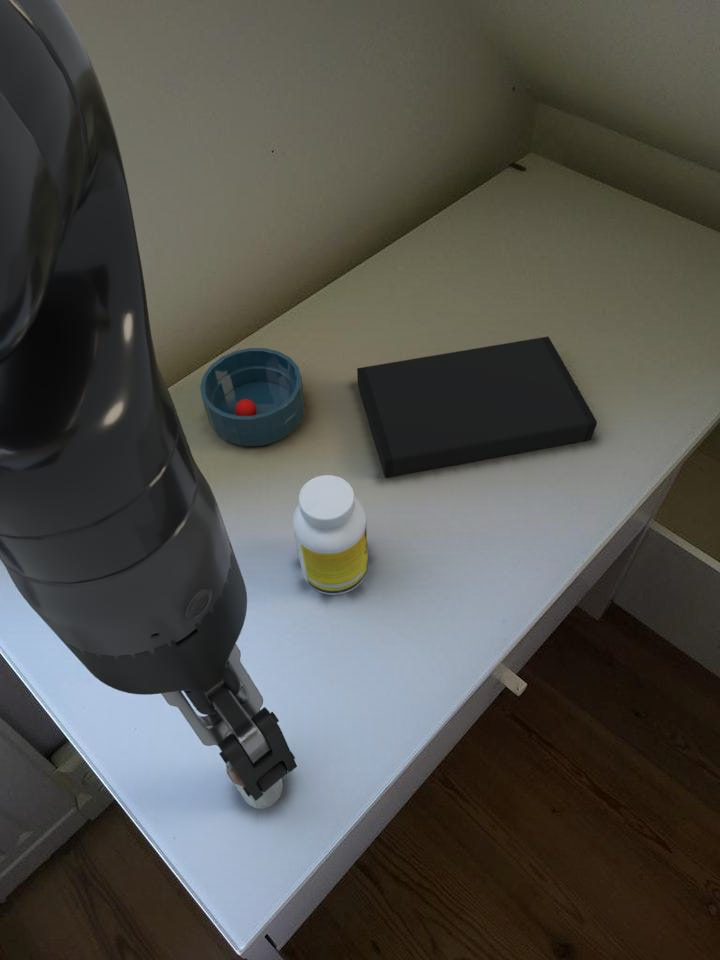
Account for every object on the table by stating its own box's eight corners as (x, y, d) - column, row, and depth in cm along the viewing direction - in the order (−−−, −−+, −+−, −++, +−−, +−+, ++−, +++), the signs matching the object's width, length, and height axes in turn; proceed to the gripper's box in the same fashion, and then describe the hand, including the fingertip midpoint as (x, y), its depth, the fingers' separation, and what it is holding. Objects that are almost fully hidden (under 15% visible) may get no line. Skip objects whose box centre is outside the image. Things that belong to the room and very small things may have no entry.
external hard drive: (357, 385, 81) (357, 367, 79) (543, 354, 84) (548, 335, 81) (384, 478, 73) (385, 460, 71) (591, 440, 75) (597, 422, 73)
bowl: (281, 460, 75) (275, 429, 71) (192, 435, 77) (182, 404, 74) (319, 391, 81) (316, 360, 77) (236, 370, 84) (229, 339, 80)
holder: (272, 815, 53) (259, 793, 48) (235, 800, 54) (218, 776, 49) (289, 774, 55) (278, 748, 50) (253, 760, 56) (238, 733, 50)
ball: (252, 427, 77) (248, 412, 75) (233, 422, 78) (229, 407, 76) (261, 412, 79) (258, 397, 77) (242, 407, 79) (239, 392, 77)
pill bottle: (373, 591, 65) (371, 522, 56) (305, 602, 64) (292, 535, 55) (362, 534, 69) (358, 461, 60) (298, 544, 68) (284, 472, 59)
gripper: (-27, 501, 29) (102, 656, 42) (135, 774, 22) (229, 859, 35) (132, 414, 32) (207, 584, 45) (320, 632, 25) (344, 760, 38)
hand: (216, 705), depth 40 cm, fingers open, 8 cm apart
